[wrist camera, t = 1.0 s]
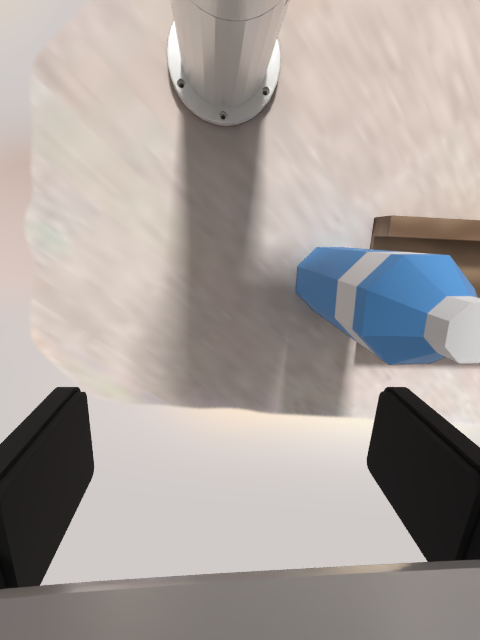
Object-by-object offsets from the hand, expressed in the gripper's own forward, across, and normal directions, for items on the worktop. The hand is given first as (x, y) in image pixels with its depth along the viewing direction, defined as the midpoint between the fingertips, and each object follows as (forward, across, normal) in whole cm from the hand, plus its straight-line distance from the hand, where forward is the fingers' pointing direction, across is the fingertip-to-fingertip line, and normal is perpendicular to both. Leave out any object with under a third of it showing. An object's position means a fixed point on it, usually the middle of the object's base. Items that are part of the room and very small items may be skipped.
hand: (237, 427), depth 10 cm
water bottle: (+33, -15, 0) cm, 36 cm away
